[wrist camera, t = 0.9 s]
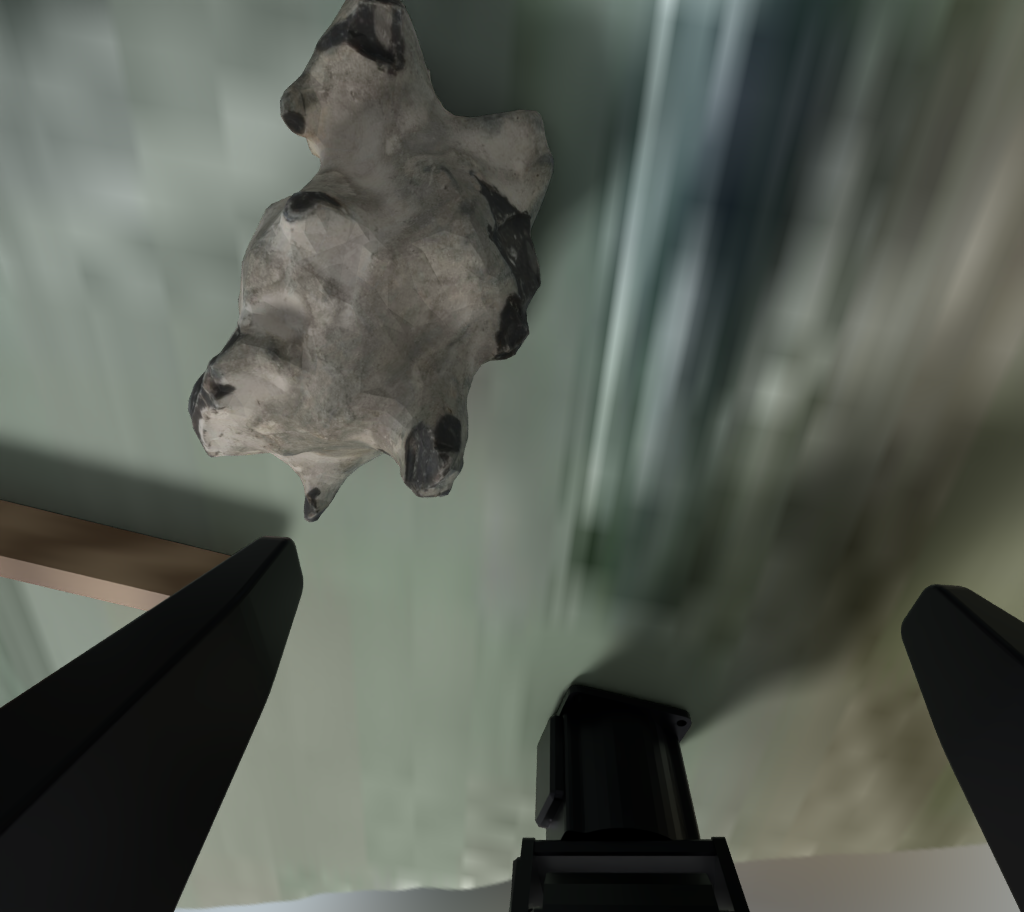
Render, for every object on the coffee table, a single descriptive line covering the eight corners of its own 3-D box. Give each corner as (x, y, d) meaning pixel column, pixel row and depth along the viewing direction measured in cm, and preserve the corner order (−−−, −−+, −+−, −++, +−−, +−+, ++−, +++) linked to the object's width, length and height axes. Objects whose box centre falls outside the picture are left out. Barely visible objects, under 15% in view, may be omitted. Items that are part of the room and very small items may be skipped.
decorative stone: (247, -50, 14) (20, -257, 6) (564, 69, 17) (711, 40, 9) (236, 449, 22) (133, 656, 14) (452, 479, 25) (473, 669, 16)
